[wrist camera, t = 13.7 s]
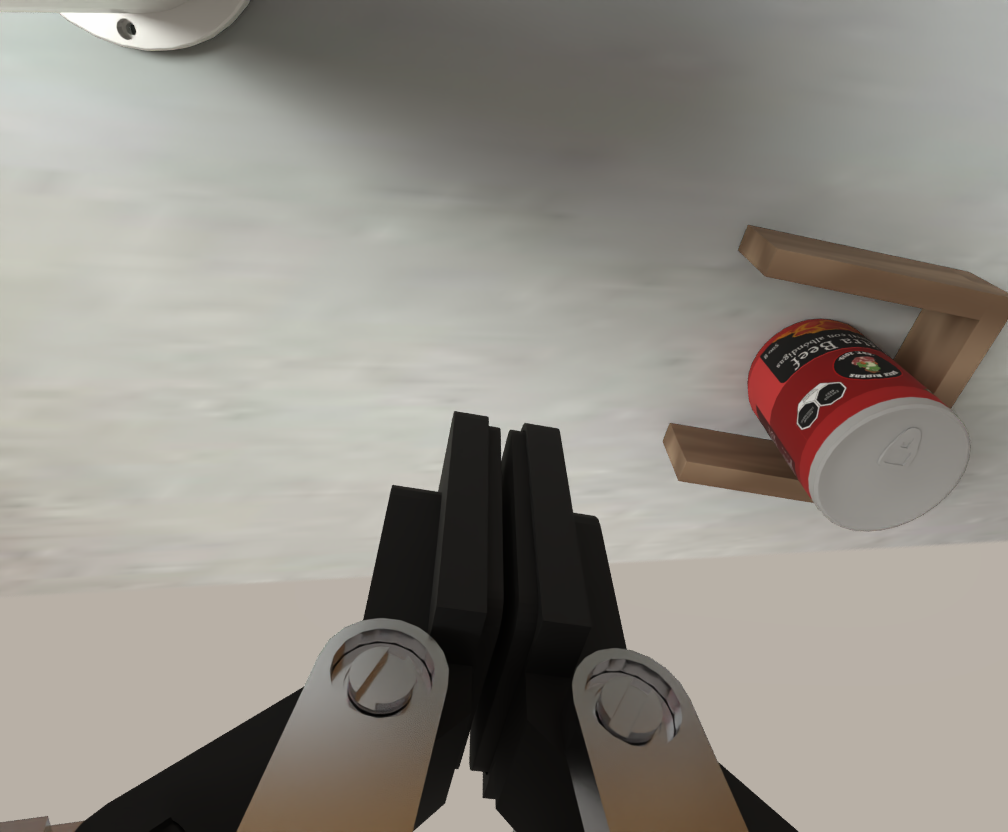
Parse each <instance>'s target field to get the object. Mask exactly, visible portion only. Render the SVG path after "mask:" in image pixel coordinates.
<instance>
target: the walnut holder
mask: <svg viewBox="0 0 1008 832" xmlns="http://www.w3.org/2000/svg"><path fill="white" fill-rule="evenodd" d="M738 251H739V252H740V253H741V254H742V255H743V256H744V257H745V258H747V259H748V260H749V261H750V262H751V263H752V264H753V265H754V266H755V267H756V268H757V269H758V270H759V271H760V272H761V273H762V274H763V275H764V276H766V277H771V278H775V279H780V280H785V281H790V282H795V283H800V284H805V285H810V286H815V287H820V288H824V289H829V290H834V291H839V292H844V293H849V294H854V295H859V296H864V297H868V298H873V299H878V300H883V301H888V302H893V303H898V304H903V305H908V306H912V307H917V308H922V310H921V312H920V314H919V316H918V317H917V319H916V321H915V323H914V325H913V326H912V328H911V330H910V332H909V333H908V335H907V337H906V339H905V340H904V342H903V344H902V346H901V348H900V349H899V351H898V353H897V355H896V356H895V358H894V361H895V362H896V363H897V364H899V365H900V366H901V367H902V368H903V369H904V370H906V371H907V372H908V373H909V374H910V375H912V376H913V377H914V378H915V379H916V380H918V381H919V382H920V383H921V384H922V385H924V386H925V387H926V388H927V389H928V390H929V391H931V392H932V393H933V394H934V395H935V396H937V397H938V398H939V399H940V400H941V401H942V402H943V403H944V404H945V405H946V406H948V407H949V408H950V409H951V407H952V406H953V404H954V403H955V401H956V400H957V398H958V396H959V395H960V393H961V392H962V390H963V389H964V387H965V386H966V384H967V382H968V381H969V379H970V378H971V376H972V375H973V373H974V372H975V370H976V368H977V367H978V365H979V364H980V362H981V361H982V359H983V358H984V356H985V354H986V353H987V351H988V350H989V348H990V347H991V345H992V343H993V342H994V340H995V339H996V337H997V336H998V334H999V333H1000V331H1001V329H1002V328H1003V326H1004V325H1005V323H1006V322H1007V320H1008V293H1007V292H1005V291H1003V290H1001V289H1000V288H998V287H996V286H994V285H992V284H990V283H988V282H987V281H985V280H983V279H981V278H979V277H977V276H975V275H974V274H972V273H970V272H967V271H962V270H957V269H953V268H948V267H943V266H939V265H934V264H929V263H925V262H920V261H915V260H910V259H906V258H901V257H896V256H892V255H887V254H882V253H878V252H873V251H868V250H864V249H859V248H854V247H850V246H845V245H840V244H836V243H831V242H826V241H821V240H817V239H812V238H807V237H803V236H798V235H793V234H789V233H784V232H779V231H775V230H770V229H765V228H761V227H756V226H751V225H748V226H747V229H746V231H745V234H744V236H743V239H742V241H741V244H740V246H739V249H738ZM663 443H664V446H665V448H666V451H667V453H668V456H669V458H670V461H671V463H672V466H673V468H674V471H675V473H676V476H677V478H678V481H682V482H688V483H695V484H701V485H707V486H713V487H719V488H725V489H732V490H738V491H744V492H750V493H756V494H762V495H768V496H775V497H781V498H787V499H793V500H799V501H805V502H811V503H814V502H813V501H812V499H811V498H810V497H809V495H808V494H807V492H806V491H805V489H804V488H803V486H802V485H801V483H800V482H799V480H798V479H797V477H796V476H795V474H794V473H793V471H792V470H791V468H790V466H789V465H788V463H787V462H786V460H785V459H784V457H783V456H782V454H781V453H780V451H779V450H778V448H777V447H776V445H775V443H774V442H773V441H771V440H765V439H760V438H754V437H748V436H742V435H737V434H731V433H725V432H719V431H714V430H708V429H702V428H696V427H690V426H685V425H679V424H673V423H670V424H669V426H668V429H667V431H666V434H665V437H664V439H663Z"/></svg>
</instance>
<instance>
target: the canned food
mask: <svg viewBox="0 0 1008 832" xmlns="http://www.w3.org/2000/svg"><path fill="white" fill-rule="evenodd" d="M748 396H749V402H750V405H751V408H752V410H753V411H754V413H755V414H756V416H757V417H758V419H759V421H760V422H761V424H762V425H763V427H764V428H765V430H766V431H767V433H768V434H769V436H770V437H771V439H772V440H773V442H774V443H775V445H776V447H777V448H778V450H779V451H780V453H781V454H782V456H783V457H784V459H785V460H786V462H787V463H788V465H789V466H790V468H791V470H792V471H793V473H794V474H795V476H796V477H797V479H798V480H799V482H800V483H801V485H802V486H803V488H804V489H805V491H806V492H807V494H808V495H809V497H810V498H811V499H812V501H813V502H814V504H815V505H816V507H817V508H818V509H819V510H820V511H821V512H822V513H823V515H824V516H825V517H826V518H828V519H829V520H830V521H831V522H832V523H834V524H836V525H838V526H840V527H843V528H846V529H850V530H854V531H878V530H885V529H889V528H893V527H897V526H900V525H902V524H905V523H908V522H910V521H912V520H914V519H916V518H918V517H920V516H922V515H924V514H925V513H927V512H928V511H929V510H931V509H932V508H934V507H935V506H937V505H938V504H939V503H940V502H941V501H942V500H943V499H944V498H945V497H946V496H948V495H949V493H950V492H951V491H952V490H953V488H954V487H955V486H956V485H957V484H958V482H959V480H960V479H961V477H962V475H963V473H964V472H965V469H966V466H967V464H968V461H969V456H970V448H971V445H970V438H969V434H968V432H967V430H966V427H965V425H964V424H963V423H962V422H961V420H960V419H959V418H958V417H957V416H956V414H955V413H954V412H953V411H952V410H951V409H950V408H949V407H948V406H946V405H945V404H944V403H943V402H942V401H941V400H940V399H939V398H938V397H937V396H935V395H934V394H933V393H932V392H931V391H929V390H928V389H927V388H926V387H925V386H924V385H922V384H921V383H920V382H919V381H918V380H916V379H915V378H914V377H913V376H912V375H910V374H909V373H908V372H907V371H906V370H904V369H903V368H902V367H901V366H900V365H899V364H897V363H896V362H895V361H894V360H893V359H891V358H890V357H889V356H888V355H887V354H885V353H884V352H883V351H882V350H881V349H879V348H878V347H877V346H876V345H875V344H874V343H872V342H871V341H870V340H869V339H868V338H866V337H865V336H864V335H863V334H862V333H860V332H859V331H858V330H857V329H855V328H853V327H852V326H850V325H848V324H845V323H842V322H839V321H834V320H828V319H812V320H806V321H802V322H798V323H795V324H793V325H791V326H789V327H787V328H785V329H783V330H782V331H780V332H779V333H777V334H776V335H774V336H773V337H772V338H771V339H770V340H769V341H768V342H767V343H765V345H764V346H763V347H762V348H761V350H760V351H759V352H758V354H757V355H756V357H755V359H754V361H753V363H752V365H751V368H750V371H749V375H748Z"/></svg>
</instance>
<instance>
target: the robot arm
mask: <svg viewBox="0 0 1008 832" xmlns="http://www.w3.org/2000/svg"><path fill="white" fill-rule="evenodd" d="M249 2H250V0H0V12H29V13H59V14H60V15H62V16H63V17H64V18H65V19H67V20H68V21H69V22H71V23H73V24H74V25H76V26H78V27H80V28H81V29H83V30H85V31H87V32H88V33H90V34H92V35H94V36H95V37H98V38H100V39H103V40H106V41H109V42H111V43H114V44H117V45H119V46H122V47H128V48H134V49H140V50H145V51H164V50H176V49H181V48H187V47H192V46H194V45H197V44H199V43H202V42H204V41H207V40H209V39H212V38H213V37H215V36H216V35H218V34H219V33H220V32H222V31H223V30H224V29H226V28H227V27H228V26H230V25H231V24H232V23H233V22H234V21H235V20H236V19H237V17H238V16H239V15H240V14H241V13H242V11H243V10H244V9H245V8H246V7H247V5H248V4H249ZM132 23H133V24H134V26H135V29H136V35H135V34H133V33H132V31H131V29H130V25H131V24H132ZM469 732H470V757H469V759H470V762H469V763H470V770H472V771H482V772H483V798H488V799H496V809H497V811H498V812H499V813H500V814H501V815H502V816H503V817H504V819H505V820H506V821H507V822H508V823H509V824H510V825H511V827H512V828H513V832H798V831H797V830H796V829H795V828H794V827H793V826H791V825H790V824H789V823H788V822H787V821H786V820H784V819H783V818H782V817H781V816H780V815H779V814H778V813H776V812H775V811H774V810H773V809H772V808H771V807H769V806H768V805H767V804H766V803H765V802H764V801H763V800H761V799H760V798H759V797H758V796H757V795H756V794H754V793H753V792H752V791H751V790H750V789H749V788H748V787H746V786H745V785H744V784H743V783H742V782H741V781H739V780H738V779H737V778H736V777H735V776H734V775H733V774H731V773H730V772H729V771H728V770H726V768H724V767H723V766H722V765H721V764H720V763H719V762H718V761H717V759H716V756H715V754H714V752H713V750H712V747H711V745H710V743H709V741H708V738H707V736H706V734H705V732H704V729H703V727H702V725H701V722H700V720H699V718H698V716H697V714H696V711H695V709H694V707H693V705H692V702H691V700H690V698H689V696H688V695H687V693H686V692H685V690H684V688H683V686H682V685H681V683H680V682H679V681H678V680H677V679H676V678H675V677H674V676H673V675H672V674H671V673H670V672H669V671H668V670H667V669H666V668H665V667H663V666H662V665H660V664H659V663H657V662H655V661H654V660H653V659H651V658H650V657H648V656H645V655H642V654H640V653H637V652H635V651H632V650H627V649H626V644H625V639H624V634H623V630H622V625H621V620H620V615H619V611H618V606H617V601H616V597H615V592H614V587H613V583H612V578H611V573H610V568H609V564H608V559H607V554H606V550H605V545H604V540H603V535H602V531H601V526H600V523H599V520H598V518H597V517H595V516H591V515H585V514H578V513H573V509H572V503H571V497H570V491H569V485H568V478H567V472H566V466H565V460H564V454H563V448H562V442H561V435H560V431H559V429H558V428H552V427H546V426H540V425H534V424H528V423H524V425H523V427H522V429H521V431H515V430H510V431H509V433H508V437H507V440H506V444H505V448H504V452H503V456H502V460H501V431H500V428H498V427H492V426H489V418H488V417H487V416H481V415H475V414H469V413H463V412H457V411H454V414H453V418H452V423H451V428H450V434H449V439H448V444H447V449H446V454H445V459H444V464H443V469H442V475H441V480H440V485H439V490H438V492H435V491H429V490H422V489H416V488H409V487H403V486H396V485H392V488H391V492H390V497H389V502H388V506H387V511H386V516H385V520H384V525H383V530H382V534H381V539H380V544H379V549H378V553H377V558H376V563H375V567H374V572H373V577H372V581H371V586H370V591H369V595H368V600H367V605H366V610H365V614H364V619H363V620H362V621H360V622H357V623H355V624H352V625H350V626H347V627H345V628H344V629H342V630H341V631H340V632H338V633H337V634H336V635H334V636H333V637H332V638H330V639H329V641H328V643H327V644H326V645H325V647H324V648H323V650H322V651H321V653H320V654H319V656H318V658H317V660H316V662H315V665H314V667H313V669H312V671H311V673H310V675H309V678H308V680H307V682H306V684H305V686H304V687H303V688H301V689H299V690H298V691H296V692H294V693H292V694H291V695H289V696H287V697H286V698H284V699H282V700H281V701H279V702H277V703H276V704H274V705H272V706H271V707H269V708H267V709H266V710H264V711H262V712H261V713H259V714H257V715H256V716H254V717H252V718H251V719H249V720H247V721H245V722H244V723H242V724H240V725H239V726H237V727H236V728H234V729H232V730H230V731H229V732H227V733H225V734H224V735H222V736H220V737H219V738H217V739H215V740H214V741H212V742H210V743H209V744H207V745H205V746H204V747H202V748H200V749H198V750H197V751H195V752H193V753H192V754H190V755H189V756H187V757H185V758H184V759H182V760H180V761H179V762H177V763H175V764H173V765H172V766H170V767H168V768H167V769H165V770H163V771H162V772H160V773H158V774H157V775H155V776H153V777H152V778H150V779H148V780H147V781H145V782H143V783H141V784H140V785H138V786H136V787H135V788H133V789H131V790H130V791H128V792H126V793H125V794H123V795H121V796H120V797H118V798H116V799H115V800H113V801H111V802H110V803H108V804H106V805H105V806H104V807H102V808H101V809H100V810H98V811H97V812H96V813H94V814H93V815H92V816H90V817H89V818H88V819H86V820H85V821H79V822H72V823H65V824H58V825H50V822H49V818H48V816H45V817H37V818H29V819H22V820H14V821H7V822H0V832H413V831H414V830H415V829H416V828H418V827H419V826H420V825H421V824H422V823H423V822H424V821H425V820H427V819H428V818H429V817H430V816H431V815H432V814H433V813H435V812H436V811H437V810H438V809H439V808H440V807H441V806H443V805H444V804H445V801H446V798H447V794H448V791H449V787H450V784H451V780H452V777H453V774H454V770H455V769H458V768H459V766H460V763H461V759H462V756H463V753H464V749H465V746H466V742H467V739H468V736H469Z"/></svg>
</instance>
